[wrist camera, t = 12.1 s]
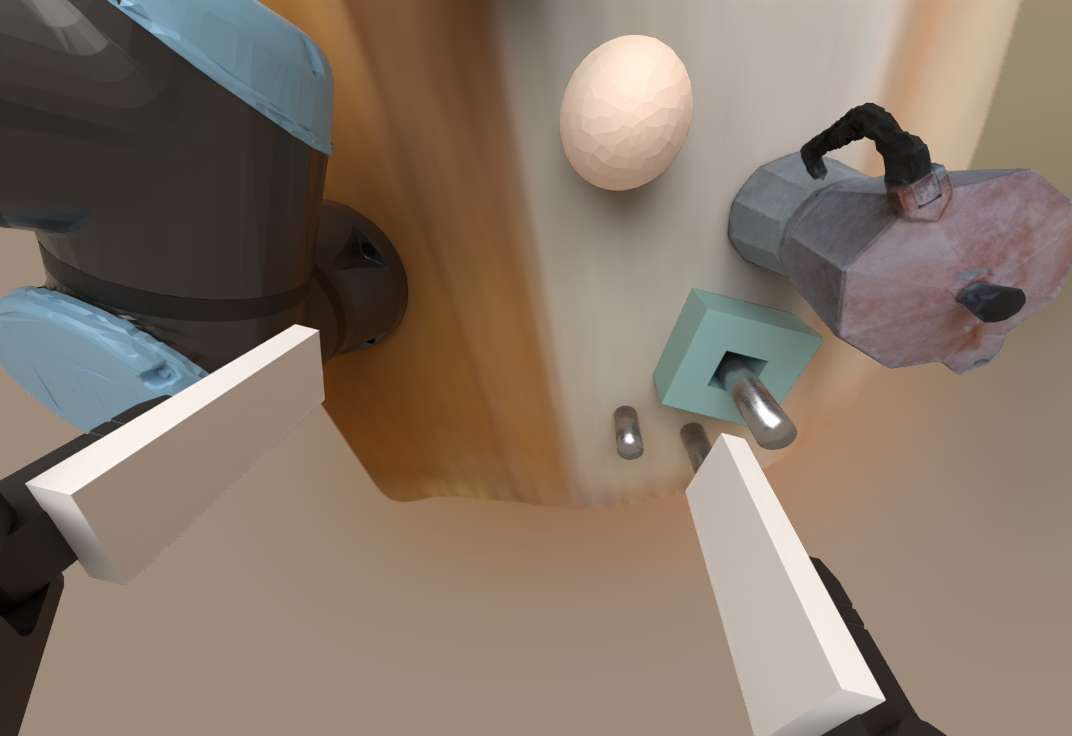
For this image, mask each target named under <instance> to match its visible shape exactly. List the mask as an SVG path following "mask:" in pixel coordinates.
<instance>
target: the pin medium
mask: <svg viewBox="0 0 1072 736" xmlns="http://www.w3.org/2000/svg"><path fill="white" fill-rule="evenodd" d="M680 434H681V437H682V440H683V443H684V445H685V448H686V451H687V453H688V456H689V459H690V461H691V464H692V467H693V469H694V472H695V475H696V473H697V471H698V470H699V468H700V467H701V465H702V463H703V462H704V460H705V459H706V457H707V455H708V454H709V452H710V451H711V449H712V446H711V444H710V442H709V440H708V438H707V436H706V433H705V431H704V429H703V427H702V426H701V425H699V424H696V423H691V424H687V425H685V426H684V427H683V428H682V429H681V432H680Z"/></svg>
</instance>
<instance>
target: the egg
mask: <svg viewBox="0 0 1072 736" xmlns="http://www.w3.org/2000/svg"><path fill="white" fill-rule="evenodd" d="M692 110H693V95H692V88H691V82H690V80H689V77H688V74H687V72H686V69H685V66H684V64H683V63H682V62H681V61H680V59H679V58H678V57H677V55H676V54H675V53H674V51H673V50H672V49H671V48H670V47H668V46H667V45H665V44H664V43H662V42H661V41H659V40H658V39H656V38H652V37H647V36H641V35H627V36H621V37H618V38H615V39H613V40H610V41H608V42H605V43H604V44H602V45H601V46H599V47H598V48H596V49H594V50H593V51H592V52H591V53H590V54H589V55H588V56H587V57H586V58H585V59H584V60H583V61H582V62H581V63H580V64H579V66H578V67H577V69H576V70H575V71H574V73H573V74H572V77H571V79H570V81H569V83H568V85H567V87H566V89H565V92H564V95H563V100H562V104H561V109H560V136H561V141H562V145H563V149H564V152H565V154H566V156H567V158H568V160H569V162H570V164H571V165H572V167H573V168H574V169H575V171H576V172H577V173H578V174H579V175H580V176H581V177H582V178H583V179H585V180H586V181H588V182H589V183H591V184H593V185H595V186H597V187H600V188H603V189H607V190H617V191H622V190H627V189H632V188H637V187H639V186H641V185H643V184H645V183H647V182H649V181H651V180H653V179H654V178H656V177H657V176H658V175H659V174H661V173H662V172H663V171H664V170H665V169H666V168H667V167H668V166H669V165H670V163H671V162H672V161H673V159H674V158H675V157H676V155H677V154H678V153H679V151H680V149H681V147H682V145H683V143H684V141H685V138H686V136H687V133H688V130H689V126H690V122H691V118H692Z"/></svg>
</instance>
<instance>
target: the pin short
mask: <svg viewBox="0 0 1072 736" xmlns="http://www.w3.org/2000/svg"><path fill="white" fill-rule="evenodd" d="M614 419H615V429H616V440H617V450H618V454H619V455H620V456H621V457H622V458H624V459H628V460H633V459H636V458H638V457H640V456H641V455H642V453H643V444H642V439H641V433H640V428H639V422H638V417H637V412H636V410H635V409H634V408H632V407H630V406H622V407H620V408H618V409H617V410H616V411H615V413H614Z"/></svg>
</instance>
